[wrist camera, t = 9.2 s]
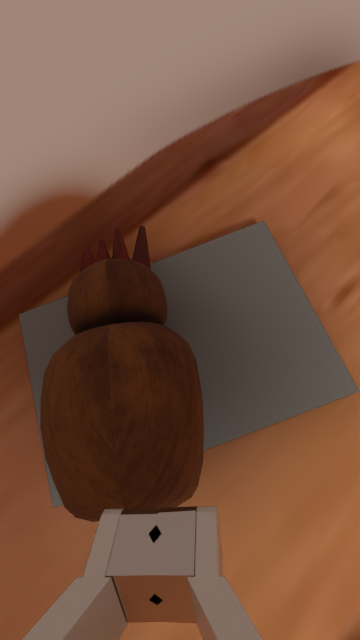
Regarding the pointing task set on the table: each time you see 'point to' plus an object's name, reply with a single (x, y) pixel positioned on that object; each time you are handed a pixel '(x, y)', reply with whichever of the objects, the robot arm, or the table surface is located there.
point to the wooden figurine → (121, 393)
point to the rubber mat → (226, 336)
